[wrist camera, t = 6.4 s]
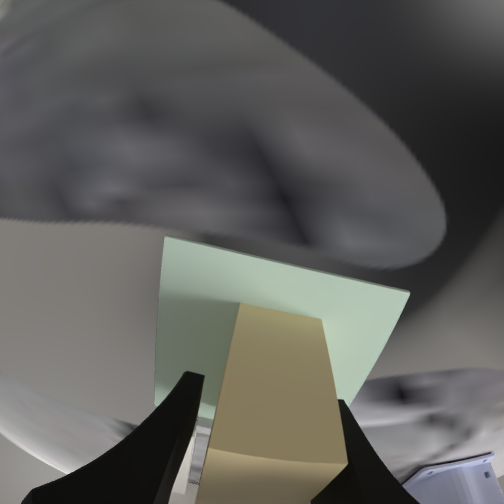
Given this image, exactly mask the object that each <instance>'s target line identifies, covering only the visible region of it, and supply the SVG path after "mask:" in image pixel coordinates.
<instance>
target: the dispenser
mask: <svg viewBox="0 0 504 504" xmlns="http://www.w3.org/2000/svg"><path fill="white" fill-rule="evenodd" d="M212 423H213V420H212V419H207V418H203V417H199V418H198V420H196V424H195V427H194V431H193V435H192V438H191V440H190V443H189V446H188V448H187V451H186V454H185V456H184V459H183V462H182V464H181V467H180V469H179V472H178V475H177V477H176V480H175V482H174V485H173V488H172V491H171V495H170V499H169V503H168V504H195V500H196V495H197V491H198V486H199V485H197V484H193V483H189V482H188V479H189V473H190V467H191V461H192V455H193V449H194V443H195V438H196V432H199V433H203V434H208V435H210V432H211V428H212Z"/></svg>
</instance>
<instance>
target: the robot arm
mask: <svg viewBox="0 0 504 504" xmlns="http://www.w3.org/2000/svg"><path fill="white" fill-rule="evenodd" d="M204 378H205V375H202V374H198V373H194V372H190V371H186V372H184V373H183V375H182V376H181V378H180V379H179V381H178V382H177V384H176V385H175V387H174V388H173V389H172V390H171V392H170V393H169V394H168V395H167V397H166V398H165V399H164V400H163V401H162V402H161V404H160V405H159V406H158V407H157V408H156V409H155V410H154V411H153V412H152V413H151V414H150V416H149V417H148V418H146V419H145V420H144V421H143V422H142V423H141V424H140V425H139V426H138V427H137V428H136V429H135V430H134V431H133V432H131V433H130V434H129V435H128V436H127V437H126V438H124V439H123V440H122V441H121V442H119V443H118V444H117V445H115V446H114V447H113V448H111V449H110V450H108V451H107V452H106V453H104V454H103V455H101V456H100V457H98V458H97V459H95V460H93V461H92V462H90V463H89V464H87V465H85V466H83V467H81V468H79V469H78V470H76V471H74V472H72V473H70V474H68V475H66V476H64V477H62V478H59V479H57V480H55V481H52V482H50V483H47V484H44V485H42V486H39V487H36V488H34V489H32V490H31V491H30V492H29V493H28V495H27V496H26V497H25V498H24V500H23V501H22V503H21V504H168V503H169V499H170V495H171V491H172V488H173V485H174V482H175V480H176V477H177V475H178V472H179V469H180V467H181V464H182V462H183V459H184V456H185V454H186V451H187V448H188V446H189V443H190V440H191V438H192V435H193V431H194V427H195V424H196V420H197V416H198V412H199V407H200V401H201V395H202V390H203V384H204ZM338 404H339V410H340V416H341V422H342V428H343V434H344V440H345V447H346V453H347V460H348V464H347V466H346V467H345V468H344V469H343V470H342V471H341V472H340V473H339V474H338V475H337V476H336V477H335V478H334V479H333V480H332V481H331V482H330V483H329V484H328V485H327V486H326V487H325V488H324V489H323V490H322V491H321V492H320V493H318V494H317V495H316V496H315V497H314V498H313V499H312V500H311V504H504V496H503V493H502V491H501V488H500V485H499V483H498V480H497V478H496V475H495V473H494V470H493V468H492V466H491V463H490V462H491V461H492V460H493V459H494V458H495V453H492V454H488V455H484V456H480V457H476V458H472V459H468V460H463V461H458V462H453V463H448V464H442V465H436V466H429V467H425V468H423V469H421V470H419V471H418V472H417V473H416V474H415V475H414V476H413V477H411V478H410V479H409V480H408V481H407V482H405V483H404V484H403V485H401V484H400V483H399V482H398V481H397V480H396V478H395V477H394V476H393V475H392V474H391V472H390V471H389V470H388V469H387V467H386V466H385V465H384V463H383V462H382V461H381V459H380V458H379V456H378V455H377V453H376V452H375V451H374V449H373V447H372V446H371V444H370V443H369V441H368V440H367V438H366V436H365V435H364V433H363V432H362V430H361V428H360V426H359V425H358V423H357V421H356V420H355V418H354V416H353V415H352V413H351V411H350V409H349V408H348V406H347V404H346V403H345V401H344V399H338Z"/></svg>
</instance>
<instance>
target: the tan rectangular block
mask: <svg viewBox="0 0 504 504" xmlns="http://www.w3.org/2000/svg"><path fill="white" fill-rule="evenodd" d="M347 464H348V460H347V453H346V447H345V440H344V434H343V428H342V422H341V416H340V410H339V404H338V399H337V393H336V388H335V383H334V377H333V372H332V367H331V362H330V357H329V352H328V347H327V342H326V337H325V333H324V328H323V323H322V319H317V318H312V317H307V316H302V315H297V314H292V313H287V312H282V311H277V310H273V309H268V308H263V307H259V306H254V305H250V304H245V303H241V302H240V306H239V311H238V315H237V319H236V323H235V328H234V332H233V336H232V341H231V345H230V349H229V354H228V358H227V362H226V367H225V371H224V375H223V379H222V384H221V388H220V392H219V397H218V401H217V405H216V410H215V414H214V419H213V423H212V428H211V432H210V437H209V441H208V446H207V450H206V455H205V459H204V464H203V468H202V473H201V477H200V482H199V486H198V491H197V495H196V500H195V504H307V503H309V502H310V501H311V500H312V499H313V498H314V497H315V496H316V495H317V494H318V493H320V492H321V491H322V490H323V489H324V488H325V487H326V486H327V485H328V484H329V483H330V482H331V481H332V480H333V479H334V478H335V477H336V476H337V475H338V474H339V473H340V472H341V471H342V470H343V469H344V468H345V467H346V466H347Z"/></svg>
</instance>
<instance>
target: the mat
mask: <svg viewBox="0 0 504 504" xmlns="http://www.w3.org/2000/svg"><path fill="white" fill-rule="evenodd" d="M159 287H160V288H159V299H158V313H157V314H158V315H157V329H156V331H157V332H156V350H155V352H156V353H155V405H156V406H159V405H160V404H161V402H162V401H163V400H164V399H165V398H166V397H167V395H168V394H169V393H170V392H171V390H172V389H173V388H174V387H175V385H176V384H177V382H178V381H179V379H180V378H181V376H182V375H183V373H184V372H186V371H190V372H194V373H198V374H202V375H205V378H204V384H203V390H202V395H201V401H200V407H199V412H198V416H197V417H203V418H207V419H212V420H213V419H214V414H215V410H216V405H217V401H218V397H219V392H220V388H221V384H222V379H223V375H224V371H225V367H226V362H227V358H228V354H229V349H230V345H231V341H232V336H233V332H234V328H235V323H236V319H237V315H238V311H239V306H240V302H241V303H245V304H250V305H254V306H259V307H263V308H268V309H273V310H277V311H282V312H287V313H292V314H297V315H302V316H307V317H312V318H317V319H322V323H323V328H324V333H325V337H326V342H327V347H328V352H329V357H330V362H331V367H332V372H333V377H334V383H335V388H336V393H337V399H344V401H345V403H346V404H347V406H348V407H349V405H350V404H351V402H352V401H353V399H354V397H355V396H356V394H357V393H358V391H359V389H360V388H361V386H362V384H363V383H364V381H365V380H366V378H367V376H368V374H369V373H370V371H371V369H372V368H373V366H374V364H375V362H376V361H377V359H378V357H379V355H380V353H381V351H382V350H383V348H384V346H385V344H386V342H387V340H388V338H389V336H390V334H391V333H392V331H393V329H394V327H395V324H396V323H397V321H398V318H399V316H400V314H401V312H402V310H403V308H404V306H405V304H406V301H407V299H408V297H409V295H410V292H409V291H407V290H403V289H399V288H395V287H390V286H386V285H382V284H377V283H373V282H369V281H364V280H360V279H356V278H351V277H347V276H342V275H338V274H334V273H329V272H325V271H321V270H316V269H312V268H308V267H303V266H299V265H295V264H291V263H286V262H282V261H278V260H274V259H269V258H265V257H261V256H257V255H252V254H248V253H244V252H239V251H235V250H231V249H226V248H222V247H218V246H214V245H209V244H205V243H201V242H197V241H192V240H188V239H184V238H180V237H175V236H171V235H165V238H164V246H163V255H162V265H161V276H160V286H159Z"/></svg>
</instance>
